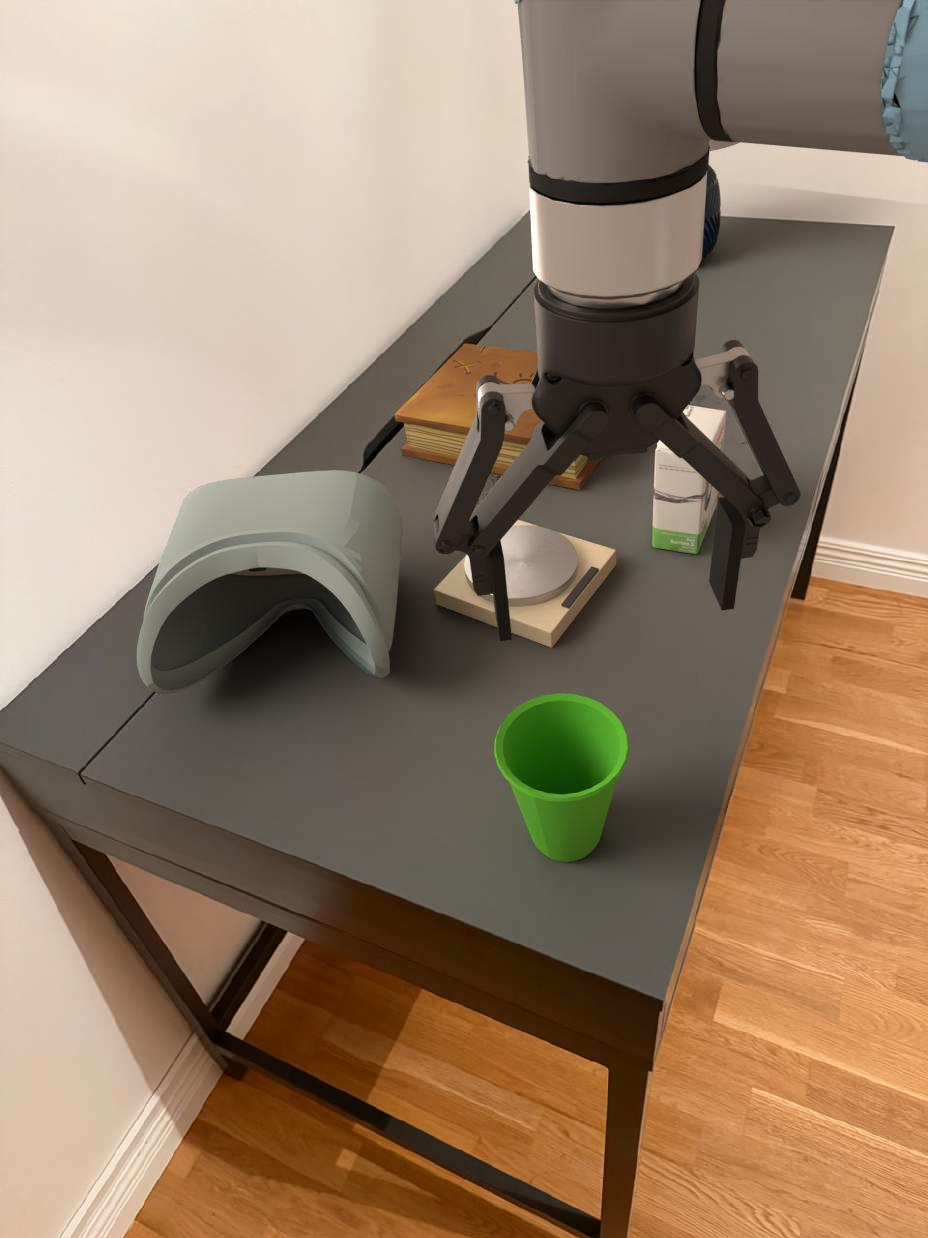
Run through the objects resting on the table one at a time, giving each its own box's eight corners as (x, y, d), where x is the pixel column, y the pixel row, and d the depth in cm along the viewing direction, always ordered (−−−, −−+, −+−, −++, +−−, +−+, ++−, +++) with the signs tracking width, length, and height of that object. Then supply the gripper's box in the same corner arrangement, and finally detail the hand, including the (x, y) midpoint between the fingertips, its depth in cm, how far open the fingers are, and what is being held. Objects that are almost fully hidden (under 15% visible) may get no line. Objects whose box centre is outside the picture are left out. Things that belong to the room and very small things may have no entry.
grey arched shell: (411, 567, 92) (390, 462, 83) (402, 707, 78) (376, 600, 70) (203, 584, 94) (162, 484, 85) (159, 725, 80) (104, 622, 71)
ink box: (698, 556, 89) (707, 456, 80) (649, 547, 90) (653, 448, 82) (717, 506, 94) (728, 407, 86) (671, 498, 96) (677, 401, 88)
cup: (645, 810, 68) (650, 717, 61) (595, 908, 63) (594, 820, 55) (540, 768, 72) (532, 676, 65) (484, 857, 67) (469, 768, 59)
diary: (637, 405, 110) (638, 362, 106) (580, 491, 98) (578, 446, 94) (472, 379, 119) (467, 338, 115) (401, 454, 108) (393, 412, 104)
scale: (616, 565, 89) (616, 547, 87) (551, 648, 82) (550, 631, 80) (505, 530, 95) (503, 513, 93) (436, 604, 88) (433, 587, 86)
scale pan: (597, 551, 88) (597, 543, 87) (542, 620, 82) (541, 612, 81) (502, 521, 93) (502, 513, 92) (443, 584, 87) (442, 577, 86)
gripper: (854, 205, 43) (790, 544, 58) (345, 278, 44) (410, 597, 58) (926, 266, 38) (836, 624, 52) (344, 349, 38) (415, 682, 53)
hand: (612, 610), depth 55 cm, fingers open, 13 cm apart
